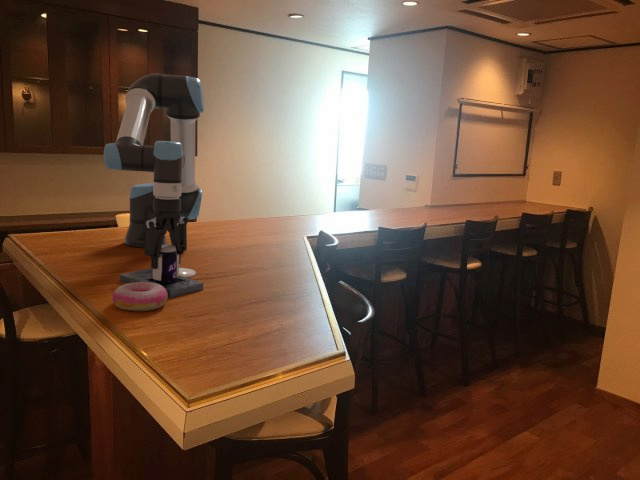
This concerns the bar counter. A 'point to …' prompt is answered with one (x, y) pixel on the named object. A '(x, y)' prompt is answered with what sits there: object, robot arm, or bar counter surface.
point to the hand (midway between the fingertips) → (165, 277)
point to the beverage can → (168, 265)
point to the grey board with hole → (173, 290)
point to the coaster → (186, 272)
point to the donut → (140, 296)
